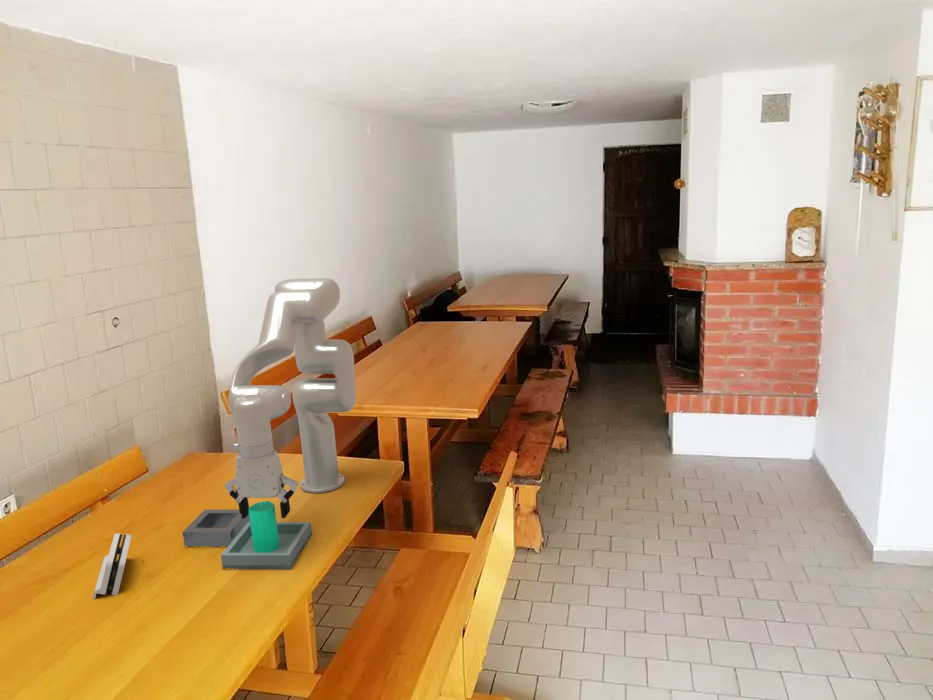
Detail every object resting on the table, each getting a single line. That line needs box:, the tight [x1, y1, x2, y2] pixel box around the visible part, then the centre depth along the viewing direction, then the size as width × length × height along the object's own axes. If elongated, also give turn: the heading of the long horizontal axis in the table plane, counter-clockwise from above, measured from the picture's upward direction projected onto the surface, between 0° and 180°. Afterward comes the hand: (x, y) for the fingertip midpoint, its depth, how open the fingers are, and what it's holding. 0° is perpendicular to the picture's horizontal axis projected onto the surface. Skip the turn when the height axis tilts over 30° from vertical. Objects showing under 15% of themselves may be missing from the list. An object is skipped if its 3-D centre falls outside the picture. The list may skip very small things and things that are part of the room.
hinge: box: [92, 532, 132, 600], centre depth 161 cm, size 17×5×10 cm, turn 19°
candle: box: [248, 500, 279, 553], centre depth 168 cm, size 6×6×12 cm
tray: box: [220, 521, 313, 570], centre depth 169 cm, size 16×16×4 cm
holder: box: [182, 508, 250, 548], centre depth 179 cm, size 12×12×4 cm
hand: (265, 515), depth 168 cm, fingers open, 9 cm apart
